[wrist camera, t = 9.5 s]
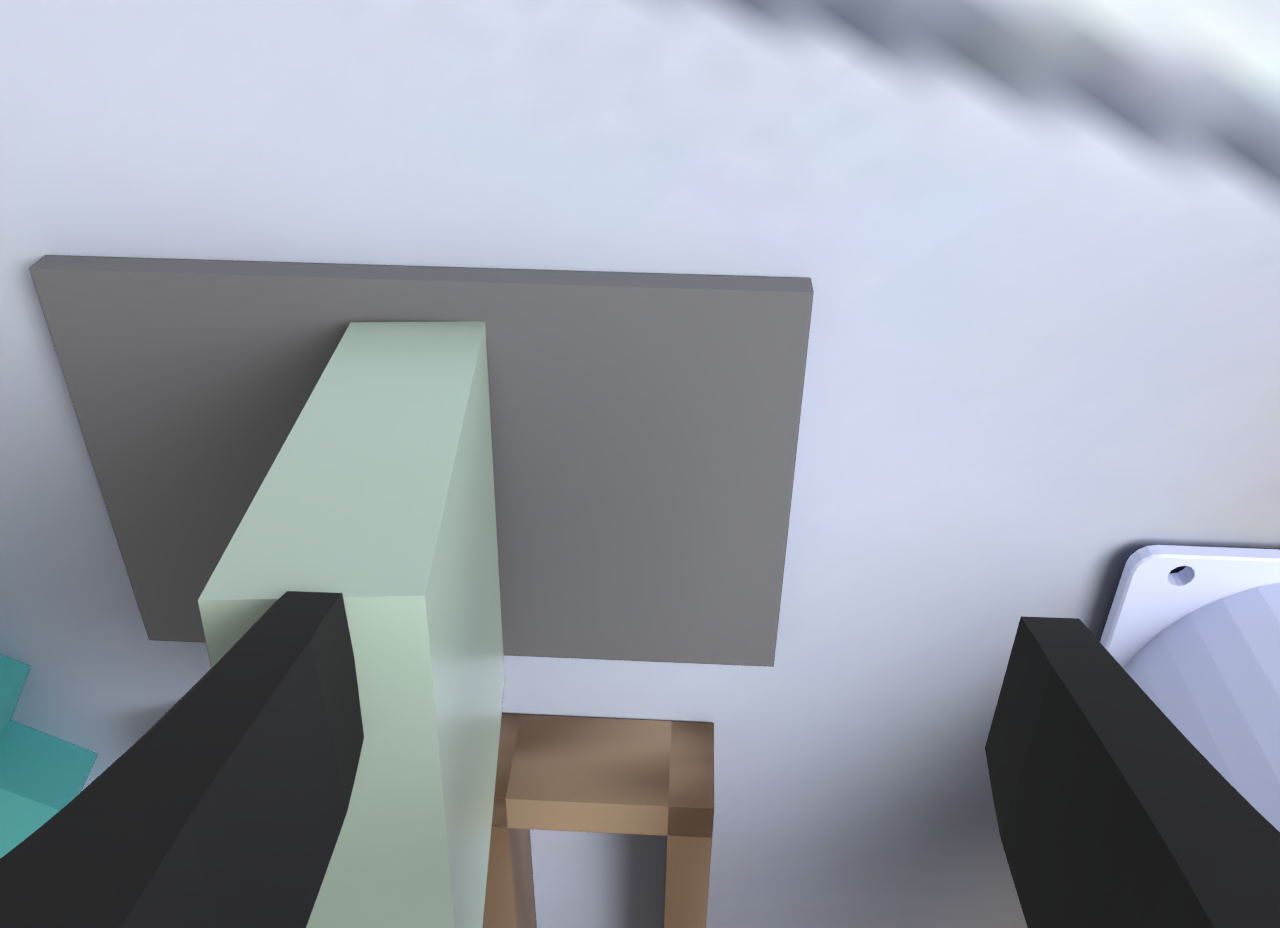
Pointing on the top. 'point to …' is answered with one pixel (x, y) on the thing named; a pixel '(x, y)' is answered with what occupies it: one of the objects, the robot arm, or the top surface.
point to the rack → (601, 802)
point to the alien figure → (32, 766)
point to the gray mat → (520, 430)
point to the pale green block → (393, 608)
